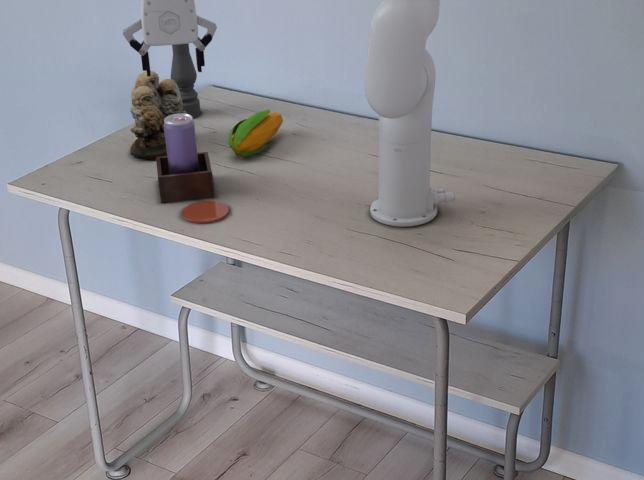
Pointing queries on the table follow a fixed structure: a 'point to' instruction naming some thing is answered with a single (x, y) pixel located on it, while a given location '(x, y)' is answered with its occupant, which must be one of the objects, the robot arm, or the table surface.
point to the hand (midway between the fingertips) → (174, 72)
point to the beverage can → (181, 144)
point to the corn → (254, 133)
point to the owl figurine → (153, 113)
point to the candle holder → (185, 78)
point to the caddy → (185, 181)
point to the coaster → (205, 212)
